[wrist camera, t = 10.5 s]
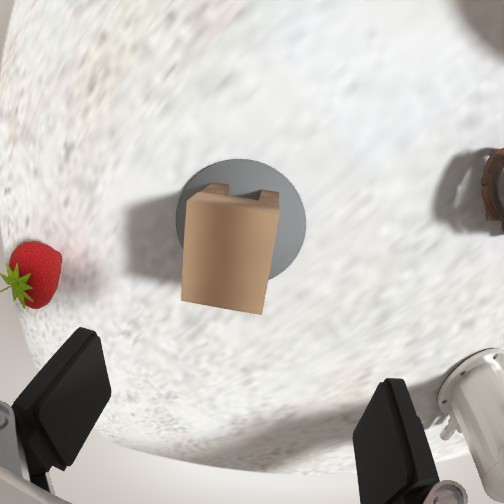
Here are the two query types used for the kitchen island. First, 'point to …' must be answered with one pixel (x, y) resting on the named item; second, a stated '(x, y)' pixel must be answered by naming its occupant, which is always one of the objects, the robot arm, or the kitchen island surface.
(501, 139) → the kitchen island surface
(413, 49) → the kitchen island surface
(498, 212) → the brown curved piece
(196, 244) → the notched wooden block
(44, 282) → the strawberry
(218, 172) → the mat
